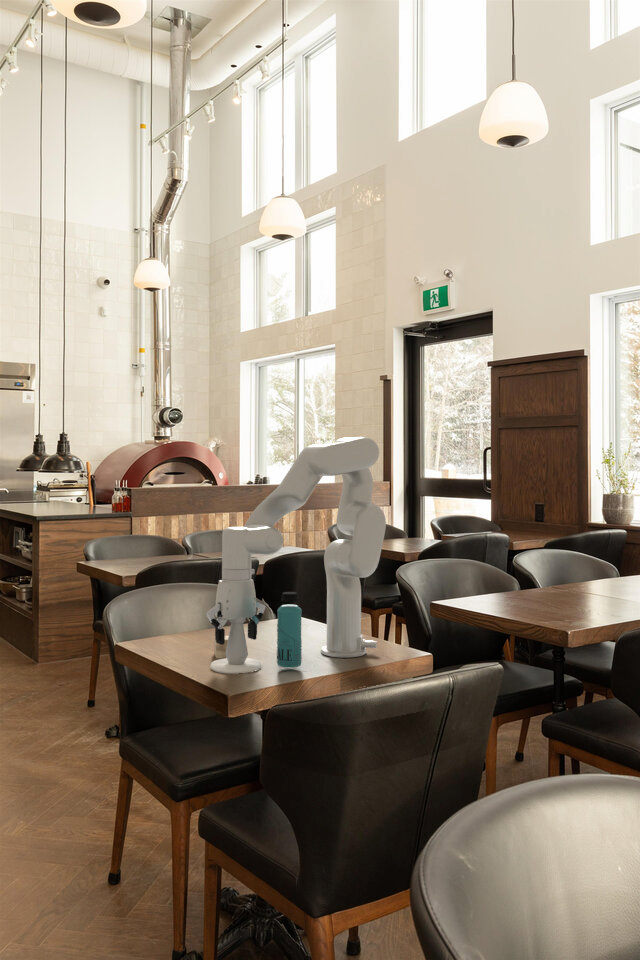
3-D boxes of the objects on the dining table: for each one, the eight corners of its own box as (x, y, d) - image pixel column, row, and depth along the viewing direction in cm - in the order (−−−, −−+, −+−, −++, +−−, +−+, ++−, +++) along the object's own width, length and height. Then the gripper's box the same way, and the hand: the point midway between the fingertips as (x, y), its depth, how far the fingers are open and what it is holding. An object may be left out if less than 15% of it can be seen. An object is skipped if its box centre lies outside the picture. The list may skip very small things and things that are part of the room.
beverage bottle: (301, 667, 209) (302, 590, 209) (302, 673, 203) (302, 594, 202) (276, 667, 209) (277, 590, 209) (276, 673, 202) (276, 594, 202)
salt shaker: (243, 666, 205) (244, 615, 205) (222, 665, 206) (223, 614, 206) (250, 661, 211) (251, 611, 211) (229, 659, 212) (230, 610, 212)
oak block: (232, 653, 224) (232, 635, 224) (234, 657, 219) (234, 639, 219) (214, 654, 223) (214, 636, 223) (216, 658, 218) (216, 640, 218)
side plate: (265, 662, 214) (265, 658, 214) (255, 674, 201) (256, 670, 201) (217, 660, 216) (217, 656, 216) (205, 672, 203) (205, 668, 203)
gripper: (256, 570, 216) (256, 634, 217) (199, 576, 206) (199, 642, 206) (272, 574, 210) (272, 639, 211) (215, 579, 200) (214, 648, 200)
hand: (236, 641), depth 208 cm, fingers open, 9 cm apart
